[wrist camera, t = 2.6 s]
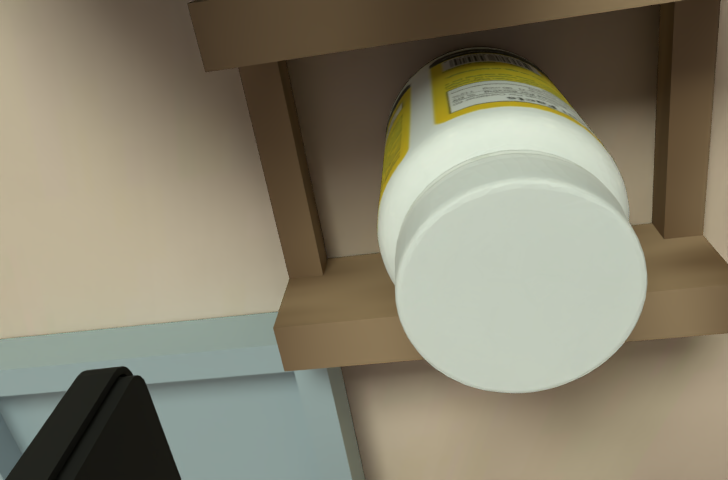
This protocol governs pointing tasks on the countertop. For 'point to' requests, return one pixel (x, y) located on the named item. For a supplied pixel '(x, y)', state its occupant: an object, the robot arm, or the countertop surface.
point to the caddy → (367, 272)
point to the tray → (195, 397)
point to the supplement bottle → (505, 227)
